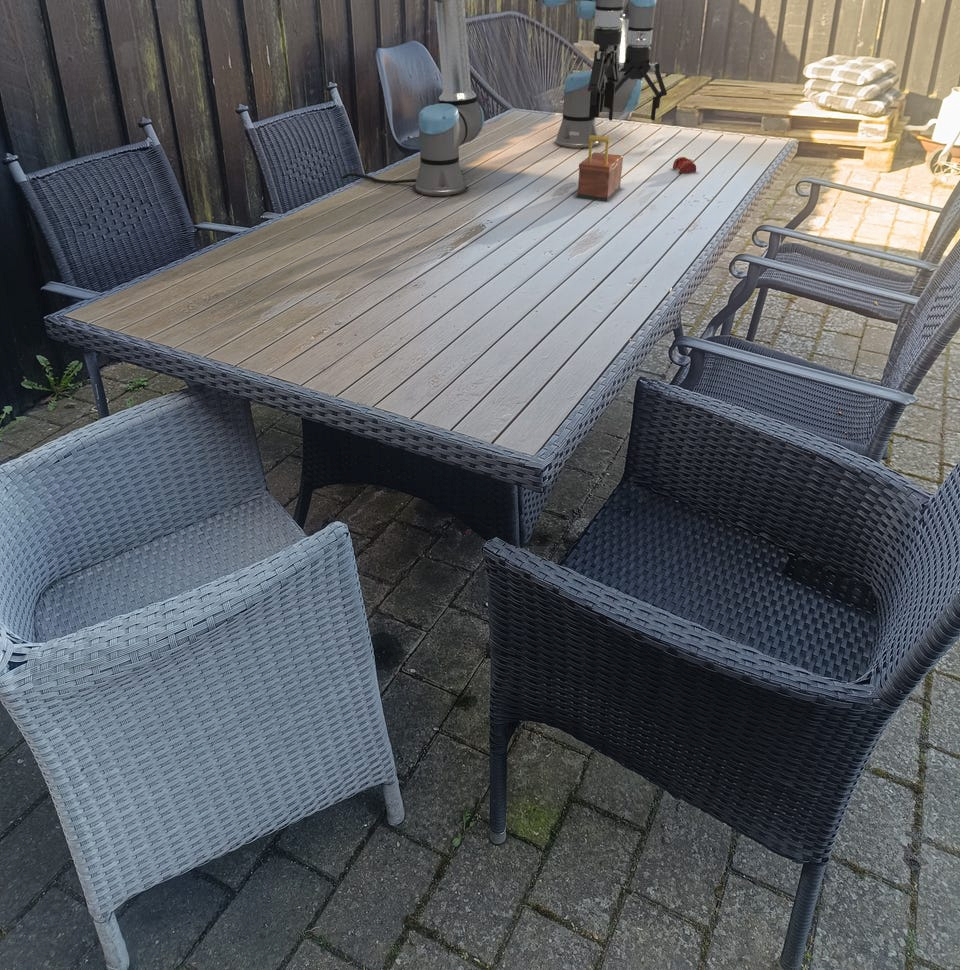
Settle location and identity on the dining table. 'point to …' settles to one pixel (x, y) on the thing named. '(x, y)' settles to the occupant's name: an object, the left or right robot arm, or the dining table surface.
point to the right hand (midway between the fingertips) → (631, 119)
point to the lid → (600, 156)
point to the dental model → (684, 165)
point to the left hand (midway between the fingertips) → (601, 112)
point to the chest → (599, 183)
